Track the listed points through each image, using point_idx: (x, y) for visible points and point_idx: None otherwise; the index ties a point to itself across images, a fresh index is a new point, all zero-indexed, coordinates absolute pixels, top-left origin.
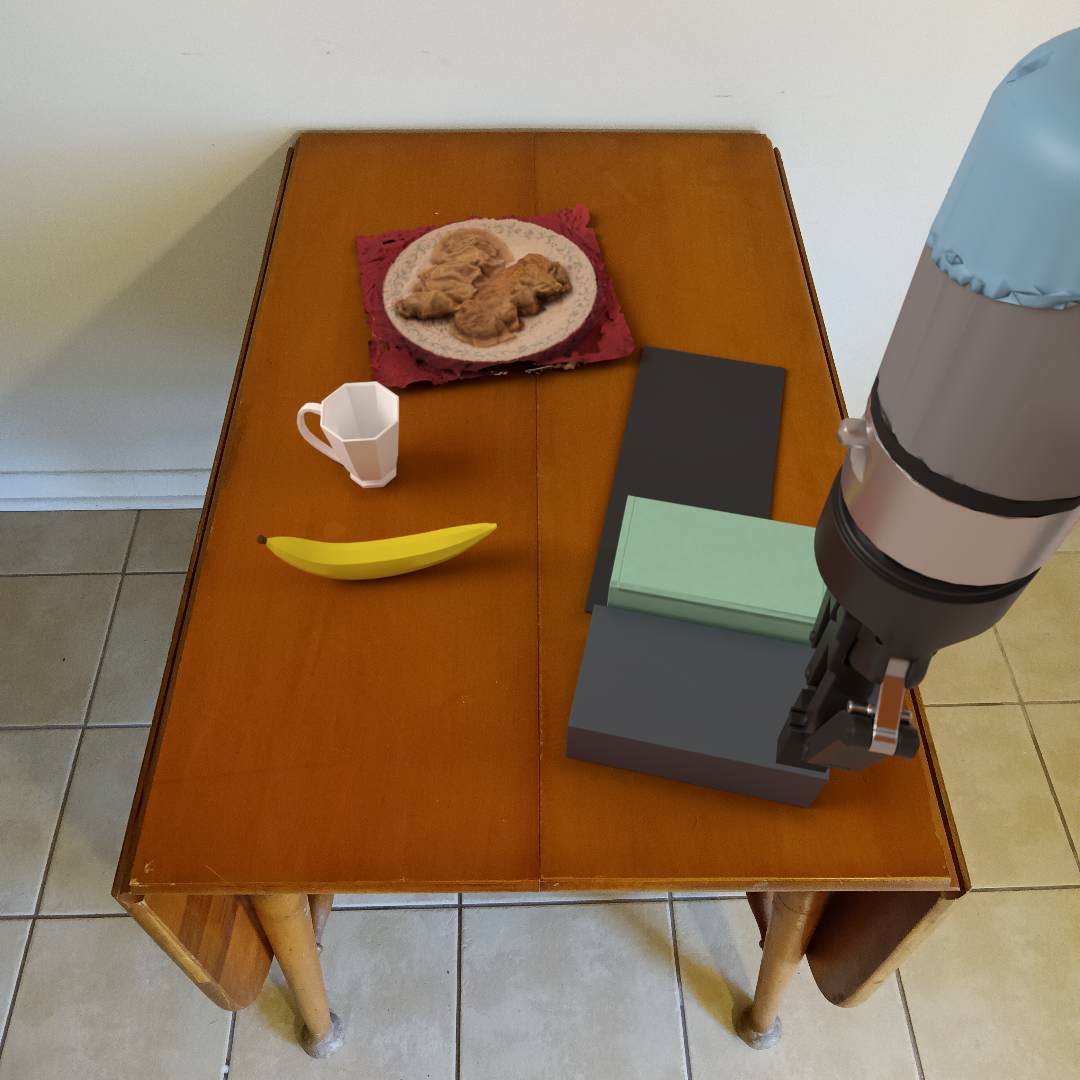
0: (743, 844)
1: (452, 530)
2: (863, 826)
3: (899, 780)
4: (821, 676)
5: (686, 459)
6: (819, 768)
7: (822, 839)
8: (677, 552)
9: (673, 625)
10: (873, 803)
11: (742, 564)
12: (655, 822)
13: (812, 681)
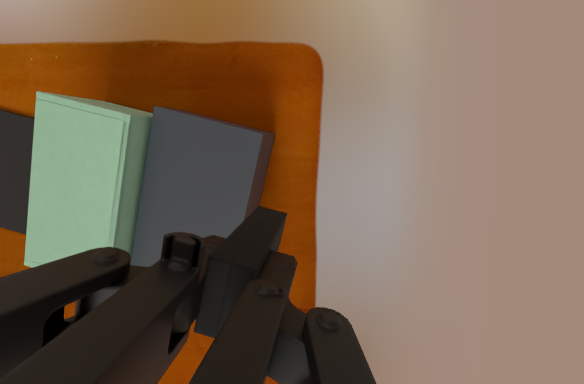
0: (298, 182)
1: None
2: (288, 95)
3: (255, 61)
4: (171, 351)
5: (5, 179)
6: (283, 223)
7: (297, 127)
8: (72, 232)
9: (140, 233)
10: (272, 85)
11: (78, 180)
12: (283, 237)
13: (181, 344)
